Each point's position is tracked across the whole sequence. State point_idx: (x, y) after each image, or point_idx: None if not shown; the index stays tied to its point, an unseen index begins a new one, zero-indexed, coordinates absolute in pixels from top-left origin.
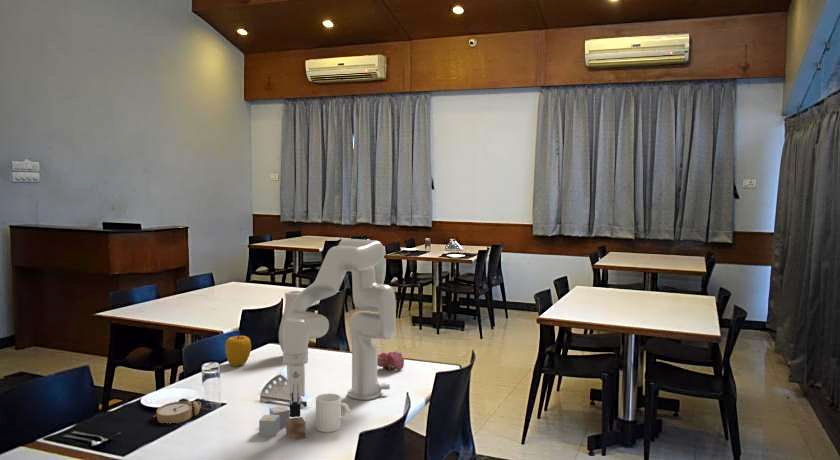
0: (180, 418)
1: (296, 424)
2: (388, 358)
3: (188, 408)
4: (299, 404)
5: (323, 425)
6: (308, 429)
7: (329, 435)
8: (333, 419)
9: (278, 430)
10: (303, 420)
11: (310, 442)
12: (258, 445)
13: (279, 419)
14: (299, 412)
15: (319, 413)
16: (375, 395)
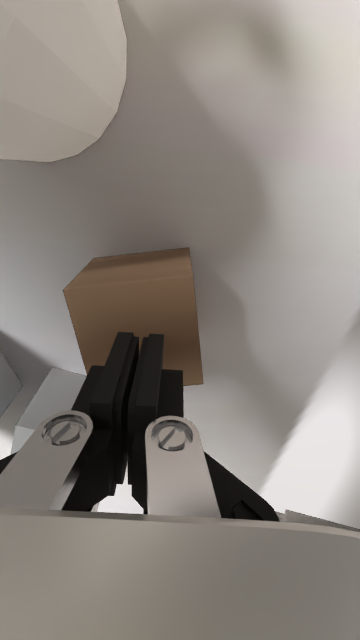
0: None
1: (198, 337)
2: None
3: None
4: (187, 421)
5: (108, 99)
6: (57, 214)
7: (189, 67)
8: None
9: (71, 376)
10: (144, 286)
11: (263, 223)
12: (214, 446)
13: (29, 405)
14: (161, 356)
15: (52, 122)
16: None
